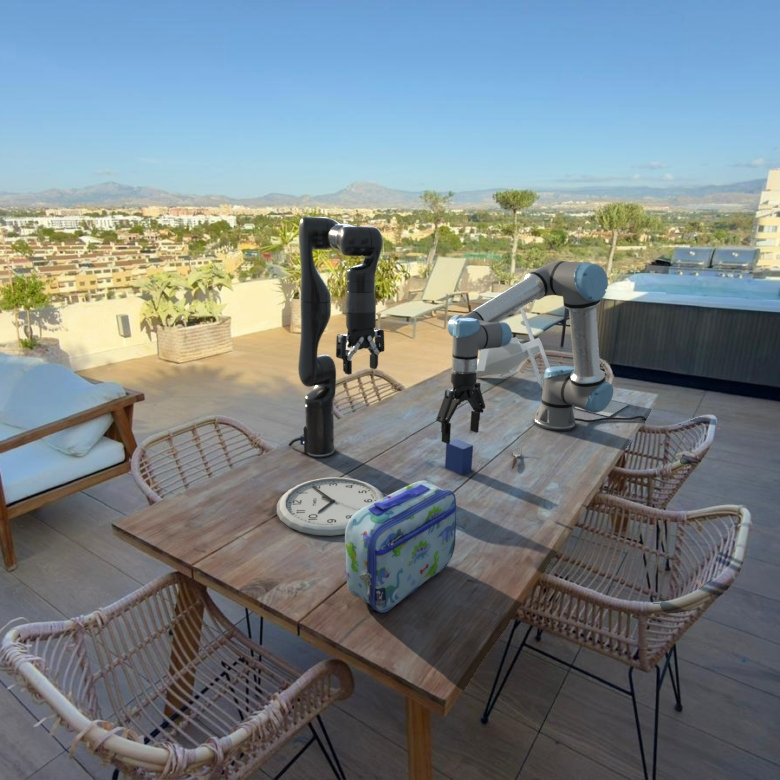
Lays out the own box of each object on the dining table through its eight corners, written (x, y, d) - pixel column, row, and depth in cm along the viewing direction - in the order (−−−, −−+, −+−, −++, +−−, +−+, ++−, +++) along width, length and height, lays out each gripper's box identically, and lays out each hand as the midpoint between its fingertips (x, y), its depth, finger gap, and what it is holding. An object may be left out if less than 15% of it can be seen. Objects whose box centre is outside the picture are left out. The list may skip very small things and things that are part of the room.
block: (454, 463, 170) (456, 438, 167) (471, 470, 165) (473, 445, 162) (444, 467, 166) (446, 442, 164) (461, 475, 162) (463, 449, 159)
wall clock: (392, 527, 129) (268, 531, 127) (391, 533, 130) (269, 537, 127) (383, 473, 158) (282, 475, 155) (383, 478, 158) (282, 480, 156)
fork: (508, 469, 165) (508, 463, 165) (514, 450, 180) (515, 445, 179) (516, 471, 165) (516, 465, 164) (522, 451, 179) (522, 446, 178)
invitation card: (608, 416, 214) (573, 407, 224) (608, 416, 214) (573, 408, 224) (628, 404, 229) (594, 396, 238) (628, 405, 229) (594, 397, 238)
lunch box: (374, 626, 100) (375, 530, 93) (338, 598, 107) (337, 508, 101) (459, 568, 117) (465, 484, 111) (424, 547, 124) (427, 467, 118)
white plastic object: (489, 418, 267) (470, 395, 242) (471, 346, 289) (451, 318, 264) (561, 394, 254) (547, 368, 230) (535, 321, 277) (521, 289, 252)
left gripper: (372, 305, 139) (372, 364, 144) (329, 309, 130) (330, 372, 135) (391, 308, 134) (390, 369, 139) (347, 313, 125) (348, 379, 129)
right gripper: (480, 361, 166) (476, 423, 173) (425, 375, 150) (423, 443, 157) (499, 366, 161) (494, 430, 168) (445, 381, 145) (442, 451, 152)
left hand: (360, 371), depth 137 cm, fingers open, 8 cm apart
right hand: (460, 436), depth 162 cm, fingers open, 13 cm apart
